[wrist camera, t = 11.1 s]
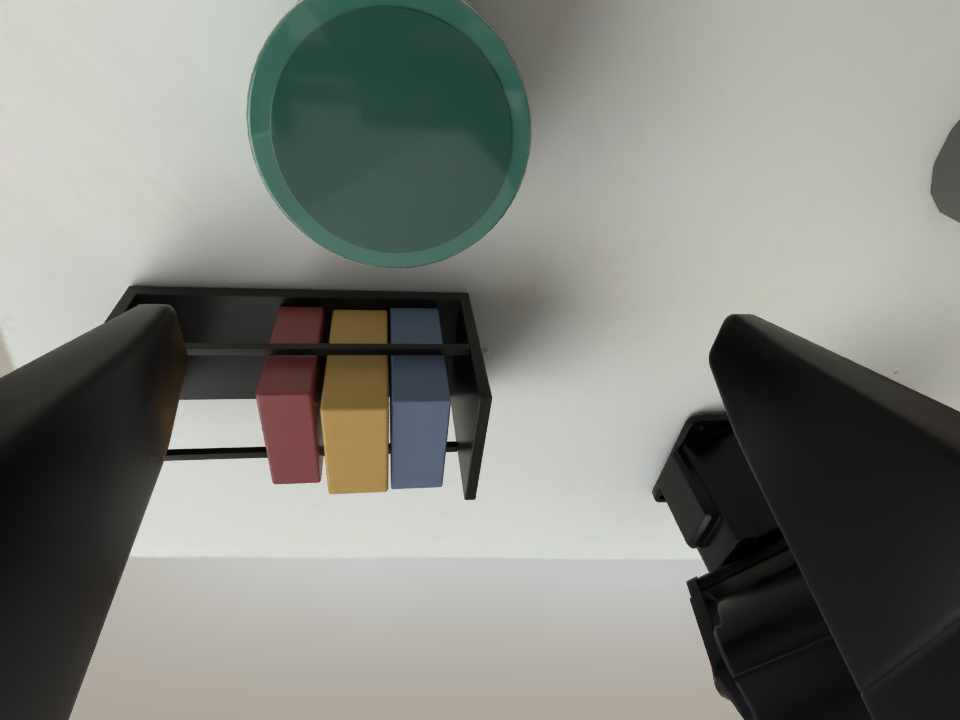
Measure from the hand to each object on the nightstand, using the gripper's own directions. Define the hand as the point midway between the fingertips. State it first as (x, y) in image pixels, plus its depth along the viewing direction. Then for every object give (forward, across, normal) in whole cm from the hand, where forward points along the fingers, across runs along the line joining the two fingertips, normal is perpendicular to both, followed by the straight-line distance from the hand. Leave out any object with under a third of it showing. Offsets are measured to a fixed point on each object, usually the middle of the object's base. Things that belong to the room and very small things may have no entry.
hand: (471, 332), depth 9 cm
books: (+10, +2, +8) cm, 13 cm away
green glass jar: (+11, +1, -1) cm, 11 cm away
